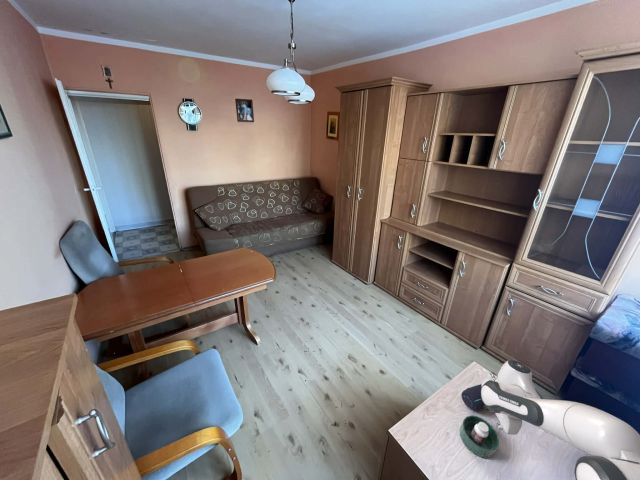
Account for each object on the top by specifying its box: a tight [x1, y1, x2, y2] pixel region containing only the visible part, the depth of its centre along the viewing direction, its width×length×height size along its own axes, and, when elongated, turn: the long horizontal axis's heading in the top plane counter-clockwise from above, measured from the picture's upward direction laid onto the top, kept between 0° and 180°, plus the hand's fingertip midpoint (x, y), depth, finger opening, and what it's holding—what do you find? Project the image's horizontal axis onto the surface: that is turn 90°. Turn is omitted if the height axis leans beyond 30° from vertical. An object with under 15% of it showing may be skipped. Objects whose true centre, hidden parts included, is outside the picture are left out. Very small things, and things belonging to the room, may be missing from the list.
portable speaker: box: [460, 383, 488, 412], centre depth 132 cm, size 25×10×10 cm, turn 107°
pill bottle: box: [470, 422, 489, 446], centre depth 116 cm, size 5×5×10 cm
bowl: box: [458, 415, 500, 459], centre depth 117 cm, size 14×14×6 cm
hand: (492, 415), depth 108 cm, fingers open, 8 cm apart
